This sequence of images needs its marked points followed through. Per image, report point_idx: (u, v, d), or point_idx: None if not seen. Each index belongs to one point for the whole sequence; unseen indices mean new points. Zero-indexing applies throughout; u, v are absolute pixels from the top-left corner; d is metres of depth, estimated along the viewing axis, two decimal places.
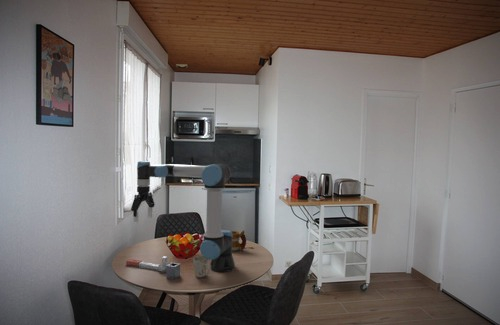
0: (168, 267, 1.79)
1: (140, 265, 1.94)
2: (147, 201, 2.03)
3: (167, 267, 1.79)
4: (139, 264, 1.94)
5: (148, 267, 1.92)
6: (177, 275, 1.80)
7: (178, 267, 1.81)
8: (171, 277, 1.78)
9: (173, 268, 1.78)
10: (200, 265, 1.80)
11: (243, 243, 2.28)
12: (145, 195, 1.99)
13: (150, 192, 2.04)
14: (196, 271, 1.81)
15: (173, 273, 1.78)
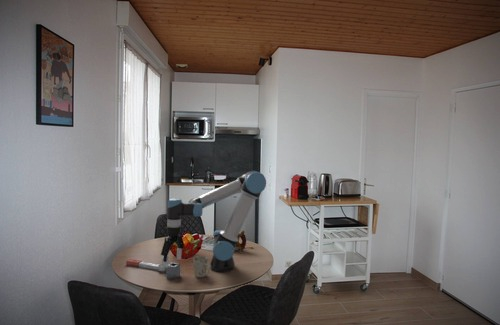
0: (168, 267, 1.79)
1: (140, 265, 1.94)
2: (177, 242, 1.84)
3: None
4: (139, 264, 1.94)
5: (148, 267, 1.92)
6: (177, 275, 1.80)
7: (178, 267, 1.81)
8: (171, 277, 1.78)
9: (173, 268, 1.78)
10: (200, 265, 1.80)
11: (243, 243, 2.28)
12: (175, 236, 1.80)
13: (180, 232, 1.85)
14: (196, 271, 1.81)
15: (173, 273, 1.78)
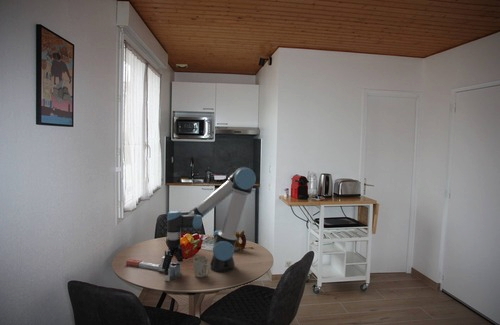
0: None
1: (140, 265, 1.94)
2: (176, 255, 1.84)
3: None
4: (139, 264, 1.94)
5: (148, 267, 1.92)
6: (177, 275, 1.80)
7: (178, 267, 1.81)
8: (171, 277, 1.78)
9: (173, 268, 1.78)
10: (200, 265, 1.80)
11: (243, 243, 2.28)
12: (175, 248, 1.81)
13: None
14: (196, 271, 1.81)
15: (173, 273, 1.78)
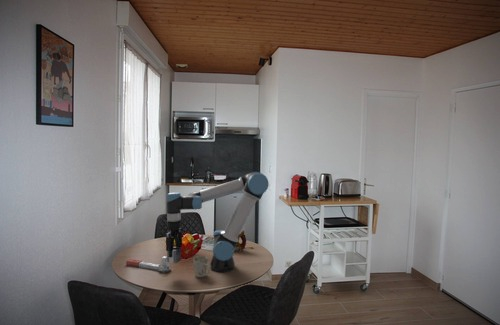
0: None
1: (140, 265, 1.94)
2: (176, 238, 1.82)
3: (168, 251, 1.79)
4: (139, 264, 1.94)
5: (148, 267, 1.92)
6: (178, 259, 1.80)
7: (179, 251, 1.81)
8: None
9: (174, 252, 1.77)
10: (200, 265, 1.80)
11: (243, 243, 2.28)
12: (176, 228, 1.80)
13: (181, 228, 1.86)
14: (196, 271, 1.81)
15: (174, 257, 1.77)
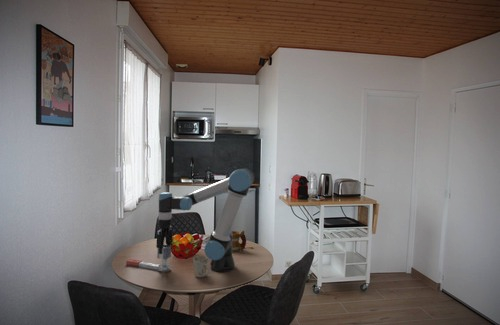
0: None
1: (140, 265, 1.94)
2: (167, 236, 1.91)
3: (158, 248, 1.88)
4: (139, 264, 1.94)
5: (148, 267, 1.92)
6: (168, 256, 1.89)
7: (169, 248, 1.90)
8: None
9: (164, 249, 1.86)
10: (200, 265, 1.80)
11: (243, 243, 2.28)
12: (167, 227, 1.89)
13: None
14: (196, 271, 1.81)
15: (164, 254, 1.86)
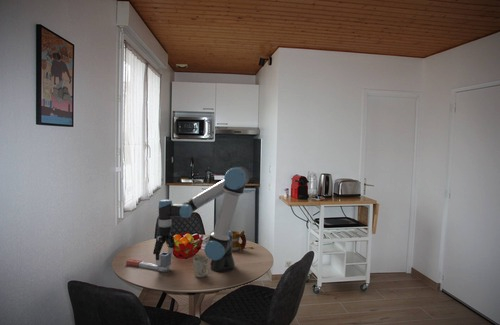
0: None
1: (140, 265, 1.94)
2: (168, 241, 1.93)
3: None
4: (139, 264, 1.94)
5: (148, 267, 1.92)
6: (168, 264, 1.89)
7: (169, 256, 1.90)
8: (162, 265, 1.87)
9: (164, 257, 1.87)
10: (200, 265, 1.80)
11: (243, 243, 2.28)
12: (167, 235, 1.89)
13: (171, 232, 1.95)
14: (196, 271, 1.81)
15: (164, 262, 1.87)
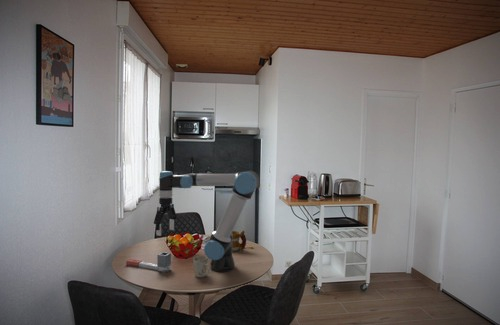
0: (159, 256, 1.88)
1: (140, 265, 1.94)
2: (169, 213, 1.93)
3: (158, 256, 1.88)
4: (139, 264, 1.94)
5: (148, 267, 1.92)
6: (168, 264, 1.89)
7: (169, 256, 1.90)
8: (162, 265, 1.87)
9: (164, 257, 1.87)
10: (200, 265, 1.80)
11: (243, 243, 2.28)
12: (167, 207, 1.89)
13: None
14: (196, 271, 1.81)
15: (164, 262, 1.87)
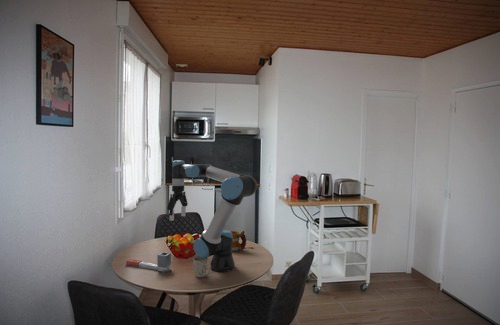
0: (159, 256, 1.88)
1: (140, 265, 1.94)
2: (181, 200, 2.05)
3: (158, 256, 1.88)
4: (139, 264, 1.94)
5: (148, 267, 1.92)
6: (168, 264, 1.89)
7: (169, 256, 1.90)
8: (162, 265, 1.87)
9: (164, 257, 1.87)
10: (200, 265, 1.80)
11: (243, 243, 2.28)
12: (180, 194, 2.02)
13: None
14: (196, 271, 1.81)
15: (164, 262, 1.87)
